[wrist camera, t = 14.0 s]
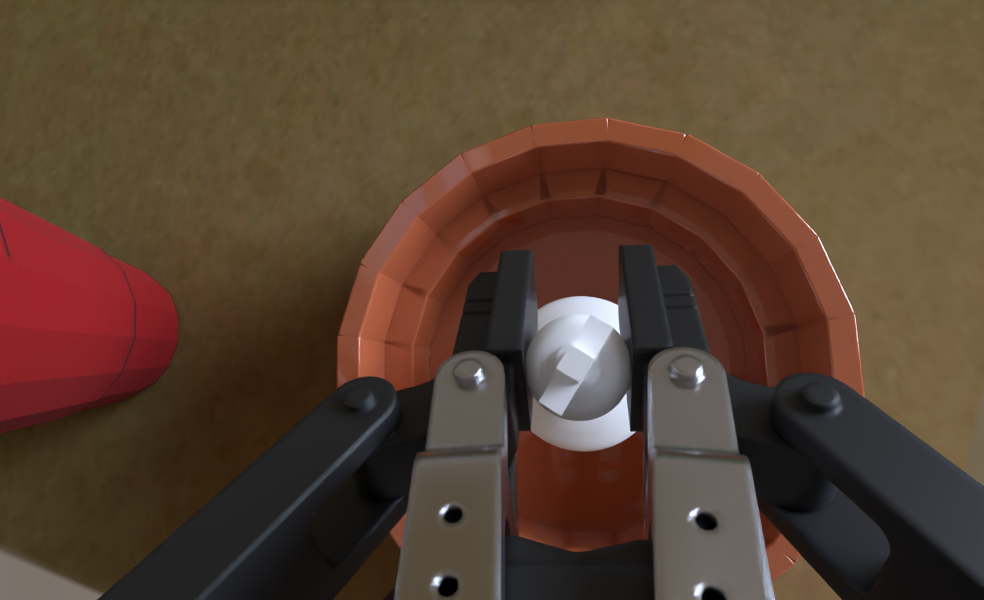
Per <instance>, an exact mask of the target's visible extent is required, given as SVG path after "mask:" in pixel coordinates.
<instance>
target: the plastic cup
mask: <svg viewBox="0 0 984 600" xmlns="http://www.w3.org/2000/svg"><path fill="white" fill-rule="evenodd" d="M177 343H178V314H177V312H176V309H175V306H174V304H173V301H172V299H171V296H170V294H169V293H168V292H167V291H166V290H165V289H164V288H163V287H162V286H161V285H160V284H159V283H158V282H157V281H156V280H155V279H153V278H151V277H150V276H149V275H148V274H147V273H146V272H144V271H141V270H139V269H137V268H135V267H133V266H131V265H128V264H126V263H124V262H122V261H120V260H118V259H115V258H113V257H111V256H109V255H108V254H107V253H106V252H105V251H103V250H102V249H100V248H98V247H96V246H94V245H92V244H90V243H88V242H86V241H84V240H83V239H81V238H79V237H77V236H75V235H73V234H71V233H69V232H67V231H65V230H63V229H61V228H59V227H57V226H55V225H53V224H51V223H49V222H47V221H45V220H43V219H41V218H39V217H37V216H35V215H33V214H31V213H29V212H28V211H26V210H24V209H22V208H20V207H18V206H16V205H14V204H12V203H10V202H8V201H6V200H4V199H2V198H0V434H1V433H5V432H9V431H13V430H17V429H21V428H25V427H29V426H33V425H37V424H40V423H44V422H48V421H52V420H56V419H60V418H64V417H68V416H71V415H73V414H75V413H77V412H78V411H82V410H86V409H90V408H94V407H98V406H102V405H106V404H110V403H114V402H118V401H122V400H124V399H125V398H127V397H129V396H132V395H134V394H136V393H138V392H140V391H141V390H143V389H145V388H147V387H149V386H151V385H153V384H154V383H155V382H156V380H157V379H158V378H159V377H160V376H161V374H162V373H163V372H164V371H165V370H166V368H167V367H168V366H169V365H170V362H171V359H172V357H173V354H174V351H175V349H176V346H177Z"/></svg>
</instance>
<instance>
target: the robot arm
mask: <svg viewBox="0 0 984 600" xmlns="http://www.w3.org/2000/svg"><path fill="white" fill-rule="evenodd" d="M462 312H463V315H462V316H461V320H460V324H459V329H458V333H457V338H456V342H455V346H454V351H453V355H452V356H451V357H449V358H448V359H446V360H445V361H444V362H443V363H442V364H441V365H440V366H439V368H438V369H437V371H436V374H435V378H434V379H432V380H431V381H428V382H426V383H424V384H421V385H418V386H414V387H410V388H406V389H402V390H399V391H395V389H394V387H393V385H392V384H391V383H390V382H389V381H387V380H385V379H383V378H380V377H375V376H367V377H360V378H356V379H353V380H350V381H348V382H346V383H344V384H343V385H341V386H340V387H338V388H337V389H336V390H335V391H334V392H332V393H331V394H330V395H329V396H328V397H327V398H326V399H324V400H323V401H322V402H321V403H320V404H319V405H318V406H317V407H315V408H314V409H313V410H312V411H311V412H310V413H309V414H307V415H306V416H305V417H304V418H303V419H302V420H301V421H299V422H298V423H297V424H296V425H295V426H294V427H293V428H292V429H290V430H289V431H288V432H287V433H286V434H285V435H284V436H282V437H281V438H280V439H279V440H278V441H277V442H276V443H275V444H273V445H272V446H271V447H270V448H269V449H268V450H267V451H265V452H264V453H263V454H262V455H261V456H260V457H259V458H258V459H256V460H255V461H254V462H253V463H252V464H251V465H250V466H248V467H247V468H246V469H245V470H244V471H243V472H242V473H240V474H239V475H238V476H237V477H236V478H235V479H234V480H233V481H231V482H230V483H229V484H228V485H227V486H226V487H225V488H223V489H222V490H221V491H220V492H219V493H218V494H217V495H216V496H214V497H213V498H212V499H211V500H210V501H209V502H208V503H206V504H205V505H204V506H203V507H202V508H201V509H200V510H199V511H197V512H196V513H195V514H194V515H193V516H192V517H191V518H189V519H188V520H187V521H186V522H185V523H184V524H183V525H181V526H180V527H179V528H178V529H177V530H176V531H175V532H174V533H172V534H171V535H170V536H169V537H168V538H167V539H166V540H164V541H163V542H162V543H161V544H160V545H159V546H158V547H157V548H155V549H154V550H153V551H152V552H151V553H150V554H149V555H147V556H146V557H145V558H144V559H143V560H142V561H141V562H139V563H138V564H137V565H136V566H135V567H134V568H133V569H132V570H130V571H129V572H128V573H127V574H126V575H125V576H124V577H122V578H121V579H120V580H119V581H118V582H117V583H116V584H115V585H113V586H112V587H111V588H110V589H109V590H108V591H107V592H105V593H104V594H103V595H102V596H101V597H100V598H99V599H98V600H333V599H334V597H335V596H336V595H337V594H338V593H339V592H340V590H341V589H342V588H343V587H344V586H345V584H346V583H347V582H348V581H349V580H350V579H351V577H352V576H353V575H354V574H355V573H356V572H357V570H358V569H359V568H360V567H361V566H362V564H363V563H364V562H365V561H366V560H367V559H368V557H369V556H370V555H371V554H372V553H373V551H374V550H375V549H376V548H377V547H378V546H379V544H380V543H381V542H382V541H383V540H384V538H385V537H386V536H387V535H388V534H389V533H390V531H391V530H392V529H393V528H394V527H395V525H396V524H397V523H398V522H399V521H400V520H401V518H402V517H403V516H404V515H405V514H406V519H405V526H404V533H403V540H402V547H401V554H400V560H399V567H398V574H397V581H396V586H395V587H394V588H393V589H392V590H391V591H390V592H389V594H388V595H387V596H386V597H385V598H384V599H383V600H775V598H774V593H773V587H772V582H771V576H770V571H769V565H768V560H767V554H766V548H765V543H764V537H763V532H762V526H761V521H760V515H759V510H760V511H761V512H762V513H763V514H764V515H765V516H766V518H767V519H768V520H769V521H770V522H771V523H772V524H773V525H774V526H775V527H776V528H777V529H778V531H779V532H780V533H781V534H782V535H783V536H784V537H785V538H786V539H787V540H788V541H789V542H790V544H791V545H792V546H793V547H794V548H795V549H796V550H797V551H798V552H799V553H800V554H801V555H802V557H803V558H804V559H805V560H806V561H807V562H808V563H809V564H810V565H811V566H812V567H813V568H814V570H815V571H816V572H817V573H818V574H819V575H820V576H821V577H822V578H823V579H824V580H825V581H826V583H827V584H828V585H829V586H830V587H831V588H832V589H833V590H834V591H835V592H836V593H837V594H838V596H839V597H840V598H841V599H842V600H984V486H983V485H981V484H980V483H979V482H977V481H976V480H975V479H973V478H972V477H971V476H969V475H968V474H967V473H965V472H964V471H963V470H961V469H960V468H958V467H957V466H956V465H954V464H953V463H952V462H950V461H949V460H948V459H946V458H945V457H944V456H942V455H941V454H940V453H938V452H937V451H936V450H934V449H933V448H932V447H930V446H929V445H928V444H926V443H925V442H924V441H922V440H921V439H919V438H918V437H917V436H915V435H914V434H913V433H911V432H910V431H909V430H907V429H906V428H905V427H903V426H902V425H901V424H899V423H898V422H897V421H895V420H894V419H893V418H891V417H890V416H889V415H887V414H886V413H884V412H883V411H882V410H880V409H879V408H878V407H876V406H875V405H874V404H872V403H871V402H870V401H868V400H867V399H866V398H864V397H863V396H862V395H860V394H859V393H858V392H856V391H855V390H854V389H852V388H851V387H849V386H848V385H846V384H845V383H843V382H841V381H839V380H837V379H835V378H832V377H830V376H826V375H823V374H817V373H797V374H792V375H790V376H787V377H785V378H783V379H782V380H781V381H780V382H779V383H778V384H777V386H776V388H773V387H768V386H764V385H759V384H755V383H751V382H747V381H744V380H741V379H738V378H736V377H734V376H732V375H730V374H729V373H727V372H725V369H724V367H723V365H722V364H721V363H720V361H719V360H718V359H716V358H715V357H714V356H712V355H711V353H710V349H709V346H708V342H707V339H706V335H705V331H704V328H703V324H702V321H701V317H700V314H699V310H698V308H697V303H696V299H695V296H694V292H693V289H692V285H691V281H690V278H689V277H688V276H687V275H686V274H685V273H684V272H683V271H682V270H681V269H680V268H679V267H678V266H677V265H657V266H656V261H655V256H654V251H653V247H652V244H643V245H620V246H619V267H618V317H619V330H620V335H621V337H622V338H623V340H624V341H625V343H626V345H627V347H628V349H629V352H630V361H631V381H630V385H629V388H628V390H627V392H626V397H627V406H628V416H629V425H630V432H642V436H643V444H644V449H643V540H635V541H630V542H626V543H621V544H616V545H612V546H607V547H603V548H598V549H593V550H589V551H584V552H573V551H569V550H565V549H562V548H558V547H555V546H551V545H548V544H544V543H541V542H537V541H534V540H530V539H527V538H523V537H520V536H519V512H518V472H517V455H516V452H517V448H518V439H519V431H531V422H532V407H533V395H532V393H531V391H530V389H529V387H528V384H527V381H526V353H527V350H528V347H529V345H530V343H531V341H532V339H533V338H534V336H535V335H536V334H537V329H538V309H537V295H536V284H535V273H534V262H533V253H532V249H527V250H505V251H501V253H500V258H499V264H498V270H497V272H480V273H479V274H478V275H477V276H476V277H475V279H474V280H473V281H472V282H471V283H470V284H469V285H468V290H467V294H466V298H465V303H464V307H463V311H462Z"/></svg>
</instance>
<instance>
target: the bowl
mask: <svg viewBox="0 0 984 600" xmlns="http://www.w3.org/2000/svg"><path fill="white" fill-rule="evenodd" d="M643 244H652V247H653V251H654V256H655V261H656V266H657V265H677V266H678V267H679V268H680V269H681V270H682V271H683V272H684V273H685V274H686V275H687V276H688V277H689V278H690V281H691V285H692V289H693V292H694V296H695V299H696V303H697V308H698V310H699V314H700V317H701V321H702V324H703V328H704V331H705V335H706V339H707V342H708V346H709V349H710V353H711V355H712V356H714V357H715V358H716V359H718V360H719V361H720V363H721V364H722V365H723V367H724V369H725V372H727V373H729V374H730V375H732V376H734V377H736V378H738V379H741V380H744V381H747V382H751V383H755V384H759V385H764V386H768V387H773V388H776V386H777V384H778V383H779V382H780V381H781V380H782V379H783V378H785V377H787V376H790V375H792V374H797V373H817V374H823V375H826V376H830V377H832V378H835V379H837V380H839V381H841V382H843V383H845V384H846V385H848V386H849V387H851V388H852V389H854V390H855V391H856V392H858V393H859V394H860V395H862V396H863V397H864V388H863V379H862V370H861V361H860V352H859V343H858V334H857V325H856V316H855V315H854V310H853V308H852V306H851V304H850V302H849V300H848V298H847V296H846V293H845V291H844V289H843V287H842V285H841V283H840V281H839V279H838V277H837V274H836V272H835V270H834V268H833V266H832V264H831V262H830V260H829V258H828V255H827V253H826V251H825V249H824V247H823V245H822V243H821V241H820V238H819V237H818V236H817V234H816V233H815V232H814V231H813V230H812V229H811V227H810V226H809V225H808V224H807V223H806V222H805V221H804V220H803V219H802V218H801V217H800V216H799V215H798V214H797V213H796V212H795V211H794V210H793V208H792V207H791V206H790V205H789V204H788V203H787V202H786V201H785V200H784V199H783V198H782V197H781V196H780V195H779V194H778V193H777V192H776V191H775V190H774V188H773V187H772V186H771V185H770V184H769V183H768V182H767V181H766V180H765V179H764V178H763V177H762V176H761V175H759V173H758V172H756V171H754V170H752V169H750V168H749V167H747V166H745V165H743V164H741V163H740V162H738V161H736V160H734V159H732V158H730V157H729V156H727V155H725V154H723V153H721V152H720V151H718V150H716V149H714V148H712V147H710V146H709V145H707V144H705V143H703V142H701V141H700V140H698V139H696V138H694V137H692V136H690V135H689V134H687V135H685V134H684V133H679V132H674V131H670V130H665V129H660V128H655V127H650V126H645V125H640V124H635V123H631V122H626V121H621V120H616V119H608V118H598V119H587V120H577V121H566V122H556V123H545V124H534V125H531V126H527V127H525V128H522V129H520V130H517V131H515V132H512V133H510V134H507V135H505V136H503V137H500V138H498V139H495V140H493V141H490V142H488V143H485V144H483V145H481V146H478V147H476V148H473V149H471V150H468V151H466V152H463V153H462V154H461V155H460V154H459V155H458V156H456V157H455V158H454V159H453V160H451V161H450V162H449V163H448V164H447V165H445V166H444V167H443V168H442V169H440V170H439V171H438V172H437V173H435V174H434V175H433V176H432V177H431V178H429V179H428V180H427V181H426V182H424V183H423V184H422V185H421V186H419V187H418V188H417V189H416V190H415V191H413V192H412V193H411V194H410V195H408V196H407V197H406V198H405V199H403V200H402V202H401V203H400V204H399V206H398V207H397V208H396V210H395V211H394V213H393V214H392V216H391V217H390V219H389V220H388V222H387V223H386V225H385V226H384V228H383V229H382V231H381V232H380V234H379V235H378V237H377V238H376V239H375V241H374V242H373V244H372V245H371V247H370V248H369V250H368V251H367V253H366V254H365V256H364V257H363V259H362V260H361V262H360V264H361V265H359V268H358V271H357V274H356V277H355V280H354V284H353V287H352V290H351V293H350V297H349V300H348V303H347V306H346V309H345V313H344V316H343V319H342V322H341V326H340V329H339V332H338V335H339V336H338V337H337V388H338V387H340V386H341V385H343V384H344V383H346V382H348V381H350V380H353V379H356V378H360V377H367V376H375V377H380V378H383V379H385V380H387V381H389V382H390V383H391V384H392V385H393V387H394V389H395V391H399V390H402V389H406V388H410V387H414V386H418V385H421V384H424V383H426V382H428V381H431V380H432V379H434V378H435V374H436V371H437V369H438V368H439V366H440V365H441V364H442V363H443V362H444V361H445V360H446V359H448V358H449V357H451V356H452V355H453V351H454V346H455V342H456V338H457V333H458V329H459V324H460V320H461V316H462V315H463V312H462V311H463V307H464V303H465V298H466V294H467V290H468V285H469V284H470V283H471V282H472V281H473V280H474V279H475V277H476V276H477V275H478V274H479V273H480V272H497V270H498V264H499V258H500V253H501V251H505V250H527V249H532V253H533V262H534V273H535V284H536V295H537V309H540V308H541V307H543V306H545V305H547V304H549V303H551V302H553V301H556V300H559V299H563V298H568V297H576V296H587V297H595V298H600V299H604V300H607V301H609V302H612V303H614V304H616V305H618V267H619V246H620V245H643ZM864 398H865V397H864ZM643 449H644V444H643V436H642V432H635V433H634V434H633V435H631V436H630V437H629V438H627V439H626V440H624V441H622V442H620V443H618V444H616V445H614V446H612V447H609V448H606V449H602V450H597V451H572V450H567V449H563V448H559V447H557V446H554V445H552V444H550V443H548V442H546V441H544V440H542V439H541V438H539V437H538V436H537V435H535V434H534V433H533V432H532V431H519V439H518V448H517V452H516V455H517V472H518V512H519V536H520V537H523V538H527V539H530V540H534V541H537V542H541V543H544V544H548V545H551V546H555V547H558V548H562V549H565V550H569V551H573V552H584V551H589V550H593V549H598V548H603V547H607V546H612V545H616V544H621V543H626V542H630V541H635V540H643ZM759 515H760V521H761V526H762V532H763V537H764V543H765V548H766V554H767V560H768V565H769V571H770V576H771V582H772V581H773V580H774V579H776V578H777V577H778V576H780V575H781V574H782V573H784V572H785V571H786V570H788V569H789V568H790V567H792V566H793V565H794V562H797V561H798V559H799V558H800V556H801V554H800V553H799V552H798V551H797V550H796V549H795V548H794V547H793V546H792V545H791V544H790V542H789V541H788V540H787V539H786V538H785V537H784V536H783V535H782V534H781V533H780V532H779V531H778V529H777V528H776V527H775V526H774V525H773V524H772V523H771V522H770V521H769V520H768V519H767V518H766V516H765V515H764V514H763V513H762V512H761V511H760V510H759ZM405 519H406V514H405V515H404V516H403V517H402V518H401V520H400V521H399V522H398V523H397V524H396V525H395V527H394V528H393V529H392V530H391V531H390V533H389V534H390V535H391V537H392V538H393V540H394V541H395V543H396V544H397V546H398V547H399V549H400V550H401V547H402V540H403V533H404V526H405Z"/></svg>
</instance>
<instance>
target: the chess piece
mask: <svg viewBox="0 0 984 600" xmlns="http://www.w3.org/2000/svg"><path fill="white" fill-rule="evenodd" d="M526 381H527V384H528V387H529V389H530V391H531V393H532V395H533V407H532V422H531V431H532V432H533V433H534V434H535V435H537V436H538V437H539V438H541V439H542V440H544V441H546V442H548V443H550V444H552V445H554V446H557V447H559V448H563V449H567V450H572V451H597V450H602V449H606V448H609V447H612V446H614V445H616V444H618V443H620V442H622V441H624V440H626V439H627V438H629V437H630V436H631V435H633V434H634V433H635V432H630V425H629V416H628V406H627V397H626V392H627V390H628V388H629V385H630V381H631V361H630V352H629V349H628V347H627V345H626V343H625V341H624V340H623V338H622V337H621V335H620V330H619V317H618V305H616V304H614V303H612V302H609V301H607V300H604V299H600V298H595V297H587V296H576V297H568V298H563V299H559V300H556V301H553V302H551V303H549V304H547V305H545V306H543V307H541V308H540V309H538V329H537V334H536V335H535V336H534V338H533V339H532V341H531V343H530V345H529V347H528V350H527V353H526Z"/></svg>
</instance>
